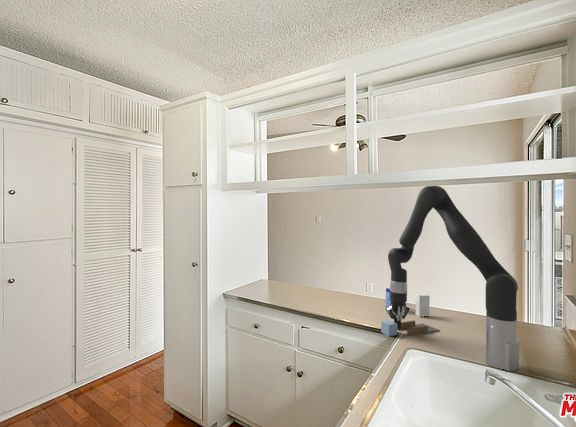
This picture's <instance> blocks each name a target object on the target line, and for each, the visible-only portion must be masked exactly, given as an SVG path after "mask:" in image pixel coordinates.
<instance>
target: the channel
mask: <svg viewBox="0 0 576 427" xmlns="http://www.w3.org/2000/svg"><path fill="white" fill-rule="evenodd" d="M415 324H416V320H408V321H401V327H400V329H397V331H398V330H405V329H406V332H407V333H406V335H407V336H414V335H419V334H425V333H429V332H428V326H429V325H428V326H427V324H425V325H424V326H417V327H415Z"/></svg>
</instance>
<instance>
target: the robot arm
mask: <svg viewBox="0 0 576 427" xmlns="http://www.w3.org/2000/svg"><path fill="white" fill-rule="evenodd" d="M432 209H434V210H435V211H436V212H437V214H438V215H439V216H440V217H441V218H442V221H443V222H444V227H445V230H446V232H447V235H448V238H450V240H451V241H452V244H454V246H455V247H456V248H457V249H458V251H459V252H460V253H461V254H462V255H463V256H464V257H466V259H467V260H469V261H470V262H471V264H473V266H475V268H477V270H478V271H479V273H480V274H481V275H482V276H483V278H484V280H485V281H486V282H485V311H486V313H485V314H486V318H485V320H486V321H485V322H486V323H485V363H486V364H487V365H489V366H490V367H492V366H493V368H494V369H498V368H499V370H502V369H504V370H503V371H506V370H507V371H506V372H508V371H510V372H513V371H517V370H520V342H519V341H517V340H518V338H517V336H518V335H517V334H518V333H517V329H518V327H517V326H518V324H517V323H518V321H517V320H518V313H517V292H518V290H519V287H518V286H519V285H518V282H517V280H516V279H515V278H514V276H512V275H511V274H510V273H509V271H508V270H506V269H505V268H504V267H503V266H502V265H501V263H500V262H499V261H498V260H497V259H496V258H495V256H494V255H493V254H492V253H493V252H491V250H490V248H489V247H488V246H487V244H486V243H485V241H484V240H483V238H482V237H481V235H480V234H479V233H478V232H477V231H476V229H475V228H474V226H473V225H471V224H470V222H469V221H468V220H467V219H466V217H465V216H464V215H463V214H462V212H460V210H459V209H458V208H457V206H456V205H455V203H454V202H453V200H452V198H451V197H450V196H449V194H448V191H446V190H445V188H444V187H441V186H439V185H428V186H424V187H423V188H421V190H420V191H419V193H418V195H417V198H416V201H415V204H414V207H413V210H412V212H411V214H410V215H411V216H410V218H409V220H408V223H407V224H406V226H405V228H404V230H403V232H402V233H401V235H400V238H399V244H400V245H401V246H400V247H393V248H391V249H390V250H389V251H388V254H387V259H388V264H389V265H388V266H389V269H390V272H391V273H390V285H389V288H390V300H391V304H390V307H389V308H386V307H385V311H386V314H388V315H389V317H390V319H392V320H393V322H394V323H397V324H398V326H397V329H399V330H401V329H400V327H401V322H402V321H403V320H405V319H406V316H407V315H408V313H409V311H410V309H411V308H410V307H408V306H407V301H408V300H407V299H408V271H407V269H405V268H403V267H402V264H407V263H408V262H409V261H410V260H411V259H412V258H413V254H414V249H415V245H416V243H417V242H418V240H419V239H420V237H421V234H422V232H423V228H424V224H425V220H426V219H427V216H428V215H429V213H430V212H431V210H432Z"/></svg>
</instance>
